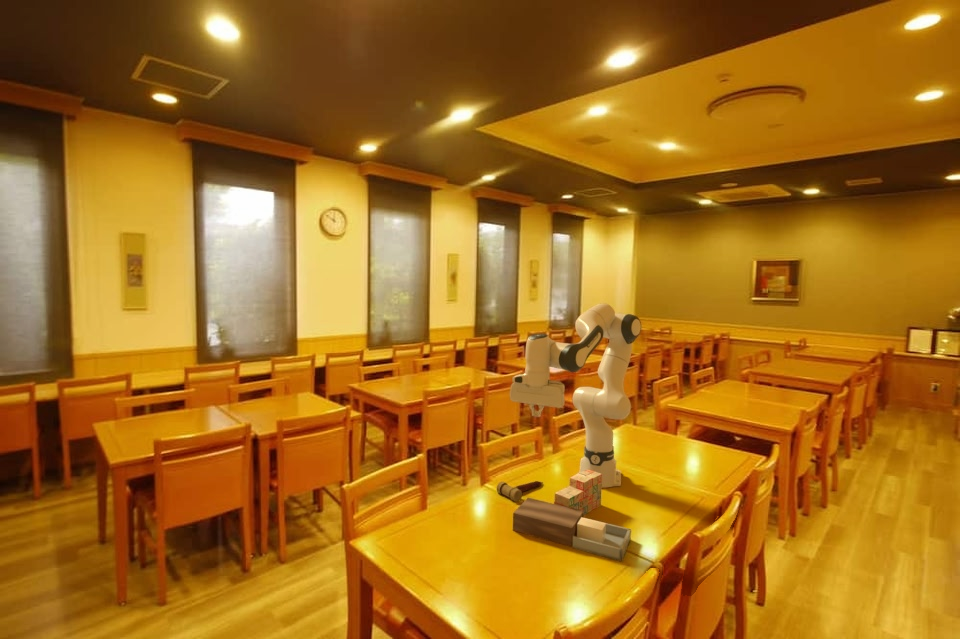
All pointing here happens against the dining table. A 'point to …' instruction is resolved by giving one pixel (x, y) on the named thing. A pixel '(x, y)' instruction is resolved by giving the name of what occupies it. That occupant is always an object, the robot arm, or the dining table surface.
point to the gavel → (516, 489)
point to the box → (607, 543)
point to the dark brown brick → (547, 521)
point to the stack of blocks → (581, 492)
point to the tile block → (591, 530)
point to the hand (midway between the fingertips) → (536, 416)
